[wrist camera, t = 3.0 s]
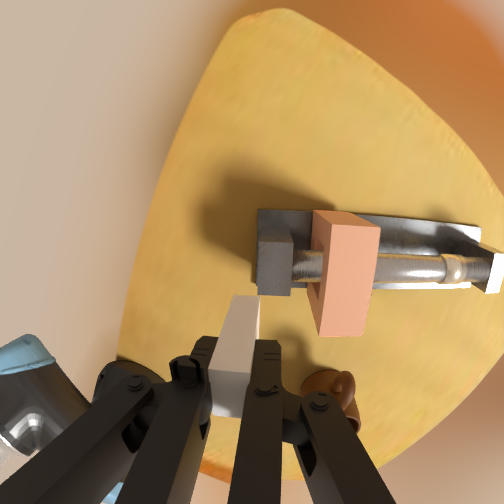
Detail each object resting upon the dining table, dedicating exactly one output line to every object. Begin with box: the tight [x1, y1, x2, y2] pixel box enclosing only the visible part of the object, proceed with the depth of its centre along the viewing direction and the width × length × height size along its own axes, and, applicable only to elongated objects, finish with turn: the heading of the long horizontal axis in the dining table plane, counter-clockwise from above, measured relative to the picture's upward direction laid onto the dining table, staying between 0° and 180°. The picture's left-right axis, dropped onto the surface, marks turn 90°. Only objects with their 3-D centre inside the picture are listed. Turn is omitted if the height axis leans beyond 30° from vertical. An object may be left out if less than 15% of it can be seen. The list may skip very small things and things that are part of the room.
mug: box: [301, 370, 361, 434], centre depth 31 cm, size 12×8×9 cm, turn 175°
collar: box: [307, 210, 381, 337], centre depth 25 cm, size 4×10×10 cm, turn 179°
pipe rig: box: [256, 209, 504, 296], centre depth 27 cm, size 32×9×8 cm, turn 89°
